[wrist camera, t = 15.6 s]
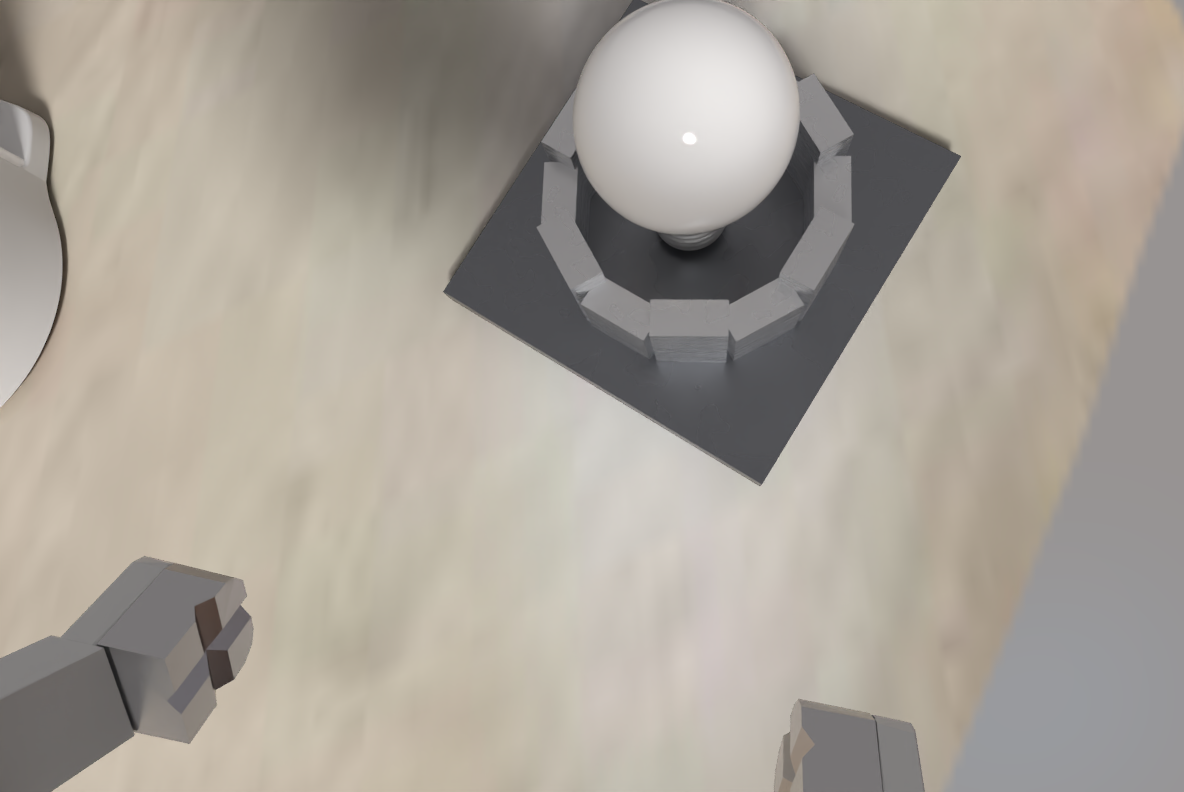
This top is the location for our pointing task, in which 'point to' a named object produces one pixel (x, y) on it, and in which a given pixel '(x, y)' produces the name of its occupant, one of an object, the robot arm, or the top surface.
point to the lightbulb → (686, 118)
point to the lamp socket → (709, 279)
